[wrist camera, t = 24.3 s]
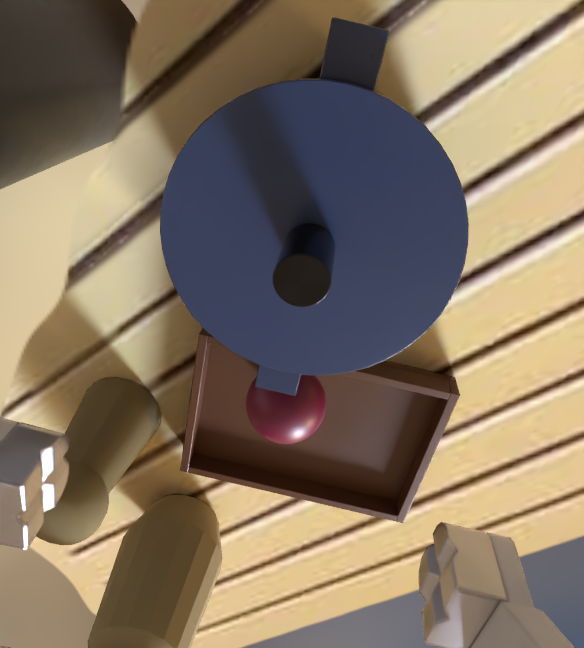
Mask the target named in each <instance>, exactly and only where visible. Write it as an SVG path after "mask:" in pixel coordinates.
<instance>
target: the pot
mask: <svg viewBox="0 0 584 648" xmlns="http://www.w3.org/2000/svg"><path fill="white" fill-rule="evenodd" d="M388 36H389V31H388V30H385V29H381V28H377V27H373V26H368V25H364V24H360V23H356V22H351V21H347V20H343V19H339V18H332V21H331V25H330V30H329V35H328V40H327V44H326V49H325V54H324V59H323V64H322V68H321V73H320V78H319V79H330V80H336V81H342V82H348V83H352V84H355V85H358V86H361V87H364V88H368V89H371V90H373V91H374V90H375V86H376V82H377V78H378V74H379V70H380V67H381V63H382V59H383V55H384V51H385V47H386V43H387V39H388ZM300 377H301V374H294V373H288V372H282V371H278V370H275V369H272V368H268V367H265V366H262V365H260V364H259V369H258V373H257V378H256V383H255V387H259V388H263V389H268V390H272V391H276V392H280V393H285V394H289V395H293V396H295V395H296V392H297V388H298V384H299V380H300Z"/></svg>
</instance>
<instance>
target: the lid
mask: <svg viewBox="0 0 584 648" xmlns="http://www.w3.org/2000/svg"><path fill="white" fill-rule="evenodd" d="M468 226H469V223H468V215H467V206H466V201H465V197H464V193H463V190H462V186H461V183H460V180H459V178H458V176H457V173H456V171H455V169H454V166H453V164H452V162H451V160H450V159H449V157H448V156H447V154H446V152H445V151H444V149H443V147H442V146H441V144H440V143H439V142H438V141H437V139H436V138H435V137H434V136H433V135H432V133H431V132H430V131H429V130H428V128H427V127H426V126H425V125H424V124H423V123H421V122H420V121H419V120H418V119H417V118H416V117H415V116H414V115H413V114H411V113H410V112H409V111H408V110H406V109H405V108H403V107H402V106H400V105H399V104H397V103H396V102H394V101H393V100H391V99H389V98H387V97H385V96H383V95H381V94H379V93H377V92H375V91H373V90H371V89H368V88H364V87H361V86H358V85H355V84H352V83H348V82H342V81H336V80H330V79H295V80H288V81H280V82H277V83H273V84H270V85H266V86H262V87H259V88H257V89H254V90H252V91H250V92H248V93H245V94H243V95H241V96H239V97H237V98H235V99H234V100H232V101H231V102H229V103H227V104H226V105H224V106H223V107H221V108H219V109H218V110H217V111H216V112H215V113H213V114H212V115H211V116H210V117H209V118H208V119H206V120H205V121H204V122H203V123H202V124H201V125H200V126H199V127H198V129H197V130H196V131H195V132H194V133H193V134H192V135H191V137H190V138H189V139H188V141H187V142H186V144H185V145H184V147H183V148H182V150H181V151H180V153H179V154H178V156H177V158H176V160H175V163H174V165H173V167H172V169H171V171H170V173H169V176H168V180H167V183H166V186H165V190H164V193H163V200H162V206H161V217H160V233H161V242H162V250H163V254H164V258H165V262H166V266H167V269H168V272H169V275H170V277H171V280H172V282H173V285H174V287H175V289H176V290H177V292H178V294H179V296H180V298H181V300H182V301H183V303H184V304H185V306H186V307H187V309H188V310H189V311H190V313H191V314H192V316H193V317H194V318H195V319H196V320H197V321H198V322H199V324H200V325H201V326H202V327H203V328H204V329H205V330H206V331H207V332H208V333H209V334H211V335H212V336H213V337H214V338H215V339H216V340H217V341H219V342H220V343H221V344H223V345H224V346H226V347H227V348H229V349H230V350H231V351H233V352H235V353H237V354H238V355H240V356H242V357H244V358H246V359H248V360H250V361H252V362H255V363H257V364H260V365H262V366H265V367H268V368H272V369H275V370H278V371H282V372H288V373H294V374H302V375H334V374H341V373H347V372H352V371H356V370H360V369H363V368H367V367H370V366H372V365H375V364H377V363H380V362H382V361H385V360H386V359H388V358H390V357H392V356H394V355H396V354H397V353H399V352H401V351H402V350H404V349H405V348H407V347H408V346H409V345H411V344H412V343H414V342H415V341H416V340H417V339H418V338H419V337H420V336H422V335H423V334H424V333H425V332H426V331H427V330H428V329H429V328H430V327H431V326H432V324H433V323H434V322H435V321H436V320H437V318H438V317H439V316H440V315H441V313H442V312H443V310H444V309H445V307H446V306H447V304H448V303H449V301H450V300H451V298H452V295H453V293H454V291H455V289H456V287H457V285H458V283H459V280H460V277H461V274H462V271H463V267H464V264H465V259H466V253H467V247H468Z"/></svg>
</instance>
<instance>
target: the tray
mask: <svg viewBox="0 0 584 648" xmlns="http://www.w3.org/2000/svg"><path fill="white" fill-rule="evenodd" d="M258 369H259V364H257V363H255V362H252V361H250V360H248V359H246V358H244V357H242V356H240V355H238V354H237V353H235V352H233V351H231V350H230V349H229V348H227V347H226V346H224V345H223V344H221V343H220V342H219V341H217V340H216V339H215V338H214V337H213V336H212V335H211V334H209V333H208V332H207V331H206V330H205V329H204V328H202V330H201V332H200V333H199V339H198V346H197V353H196V360H195V368H194V375H193V382H192V389H191V396H190V404H189V411H188V418H187V425H186V432H185V439H184V447H183V454H182V461H181V468H180V470H181V471H184V472H189V473H193V474H197V475H201V476H205V477H210V478H214V479H218V480H222V481H227V482H231V483H235V484H239V485H244V486H248V487H252V488H256V489H261V490H265V491H269V492H273V493H278V494H282V495H286V496H290V497H295V498H299V499H303V500H307V501H312V502H316V503H320V504H324V505H329V506H333V507H337V508H342V509H346V510H350V511H354V512H359V513H363V514H367V515H371V516H376V517H380V518H384V519H388V520H393V521H397V522H401V523H403V522H404V520H405V518H406V515H407V513H408V511H409V509H410V506H411V504H412V502H413V500H414V497H415V495H416V493H417V491H418V488H419V486H420V484H421V482H422V479H423V477H424V475H425V473H426V470H427V468H428V466H429V464H430V461H431V459H432V457H433V455H434V452H435V450H436V448H437V446H438V443H439V441H440V439H441V437H442V434H443V432H444V430H445V427H446V425H447V423H448V421H449V418H450V416H451V414H452V412H453V409H454V407H455V405H456V403H457V400H458V398H459V396H460V394H459V390H458V386H457V383H456V379H455V377H452V376H448V375H444V374H440V373H435V372H431V371H427V370H423V369H418V368H414V367H410V366H406V365H401V364H397V363H393V362H388V361H382V362H380V363H377V364H375V365H372V366H370V367H367V368H363V369H360V370H356V371H352V372H347V373H341V374H334V375H315V376H316V377H317V378H318V380H319V381H320V383H321V384H322V386H323V389H324V392H325V396H326V411H325V415H324V418H323V421H322V423H321V424H320V426H319V427H318V429H317V430H316V431H315V432H314V433H313V434H312V435H311V436H309V437H308V438H306V439H305V440H303V441H300V442H297V443H293V444H280V443H275V442H272V441H270V440H268V439H266V438H264V437H263V436H262V435H260V434H259V433H258V432H257V431H256V430H255V428H254V427H253V425H252V424H251V422H250V420H249V417H248V414H247V409H246V399H247V393H248V390H249V387H250V385H251V383H252V382H253V380H254V379H255V378H256V376H257V373H258Z"/></svg>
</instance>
